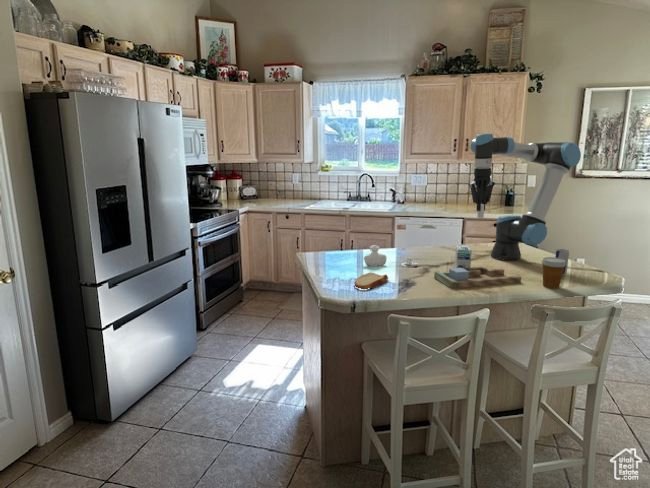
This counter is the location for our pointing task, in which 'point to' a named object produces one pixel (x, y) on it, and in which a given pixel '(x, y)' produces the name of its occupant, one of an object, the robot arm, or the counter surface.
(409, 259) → the teacup and saucer
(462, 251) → the light bulb box
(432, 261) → the counter surface
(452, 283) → the trap lane
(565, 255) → the energy drink
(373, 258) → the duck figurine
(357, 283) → the bread slice
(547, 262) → the disposable coffee cup
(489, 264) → the counter surface
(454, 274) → the cube
